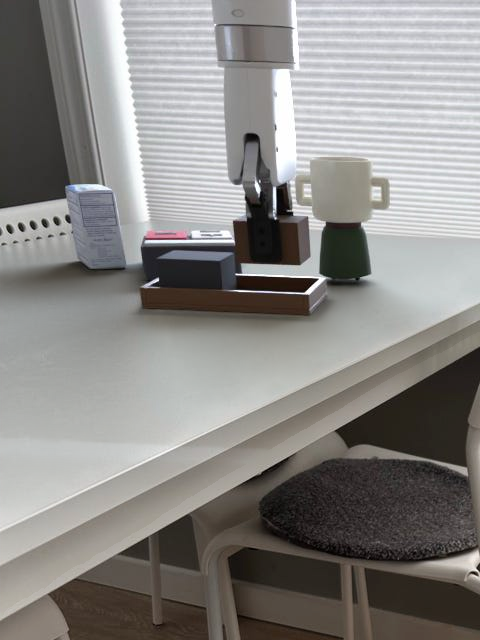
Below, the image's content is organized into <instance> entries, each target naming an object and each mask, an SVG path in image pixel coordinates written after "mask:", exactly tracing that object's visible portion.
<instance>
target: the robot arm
mask: <svg viewBox="0 0 480 640" xmlns="http://www.w3.org/2000/svg"><path fill="white" fill-rule="evenodd" d="M210 1H211V10H212V11H211V12H212V20H213V30H214V32H213V33H214V40H215V42H214V43H215V50H216V52H215V53H216V60H217V68H220V69H221V68H223V112H224V114H223V115H224V133H225V135H224V136H225V150H226V152H225V153H226V164H227V165H226V167H227V177H228V180H229V182H230V183H231V184H232V185H233V186H241V185H242V189H243V191H244V201H245V215H246V217H247V230H248V241H249V252H250V259H251V261H253V262H271V263H279V262H281V261H282V260H283V254H282V241H281V227H280V219H276V215H290V216H295V215H294V211H293V208H294V207H293V206H294V205H293V198H292V189H291V187H292V186H291V183H290V182H291V181H292V180H293V179H295V177H296V175H297V145H296V130H295V117H294V108H293V97H292V95H293V93H292V88H291V80H290V71H299V70H300V64H299V45H298V31H297V14H296V13H297V12H296V0H210Z"/></svg>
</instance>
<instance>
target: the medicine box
mask: <svg viewBox="0 0 480 640" xmlns="http://www.w3.org/2000/svg"><path fill="white" fill-rule="evenodd" d="M64 189H65V195H66V196H65V197H66V203H67V208H68V213H69V219H70V224H71V231H72V237H73V242H74V247H75V252H76V258H77V260H78V261H80V262H81V263H82V264H83V265H85V266H87V267H88V268H89V269H91V270H109V269H110V270H111V269H126V267H127V260H126V253H125V247H124V242H123V241H124V240H123V234H122V228H121V223H120V219H119V218H120V216H119V211H118V204H117V199H116V193H115V190H113V189H112V188H109V187H108V186H105V185H102V184H98V183H94V184H93V183H91V184H90V183H83V184H70V185H65V187H64Z"/></svg>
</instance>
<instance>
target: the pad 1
mask: <svg viewBox="0 0 480 640" xmlns="http://www.w3.org/2000/svg"><path fill="white" fill-rule="evenodd" d="M156 261H157V269H158V276H159V284H160V287H167V288H191V289H216V290H237V281H236V271H235V260H234V253H229V252H205V251H180V250H173V251H171V252H169V253H167V254H165V255H162V256H160V257H158V258H156Z"/></svg>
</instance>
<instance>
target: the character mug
mask: <svg viewBox="0 0 480 640" xmlns="http://www.w3.org/2000/svg"><path fill="white" fill-rule="evenodd" d="M373 170H374V169H373V160H372V159H369V158H364V157H354V156H320V157H319V156H318V157H317V156H315V157H310V158H309V174H305V173H304V174H303V173H298V174H296V175H295V177H294V189H295V201H296V204H297V205H298V206H300V207H311V211H312V215H313V218H314V219H316V220H318V221H321V222H325V225H324V226H323V228H322V230H321V235H320V248H319V250H320V251H319V264H318V265H319V268H318V269H319V270H318V274H319V275H321V276H322V277H323V278H328V279H331V280H333V281H335V280H344V281H345V280H347V281H348V280H355V281H356V282H359V281H361V278H364V277H367V276H370V275H372V266H371V257H370V249H369V245H368V239H367V233H366V230H365V228H364V227H363V226H362V223H366V222H368V221H370V220H372V218H373V215H374V210H381V211H384V210H385V211H386V210H388V209H389V208H390V204H391V203H390V197H391V196H390V181H389V179H388V178H385V177H374V176H373V173H374V172H373ZM304 185H310V191H311V192H310V195H311V197H310V196H305V189H304V188H305V187H304ZM374 188H380V197H381V198H380V200H379V199H374Z"/></svg>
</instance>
